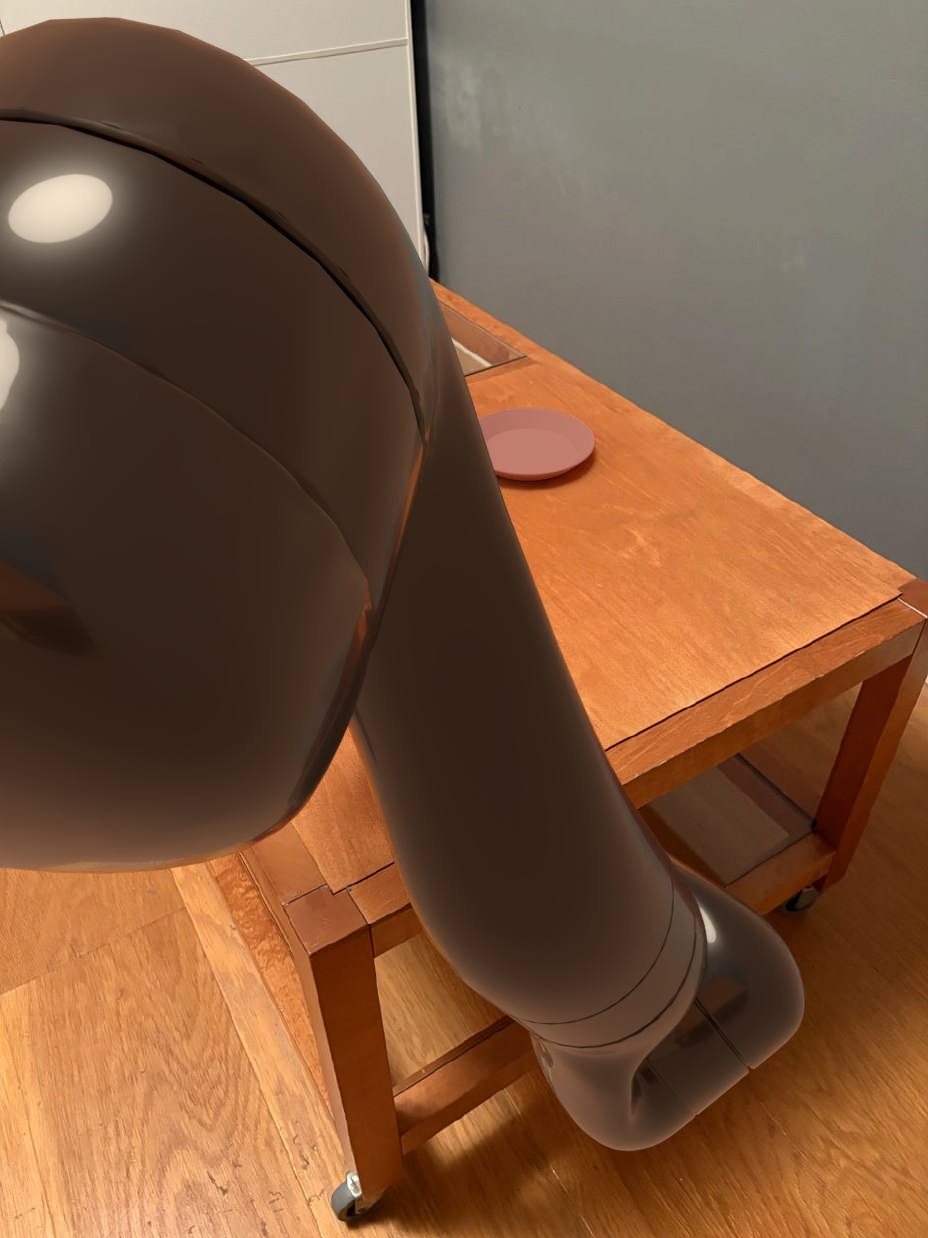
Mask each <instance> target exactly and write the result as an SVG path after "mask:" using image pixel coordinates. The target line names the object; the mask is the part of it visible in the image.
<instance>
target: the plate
mask: <svg viewBox="0 0 928 1238" xmlns="http://www.w3.org/2000/svg"><path fill="white" fill-rule="evenodd" d="M478 420H479V423H480V426H481V429H482V433H483V436H484V439H485V442H486V445H487V449H488V452H489V455H490V458H491V461H492V464H493V468H494V471H495V474H496V476H498V477H501V478H503V479H504V478H505V479H509V480H514V481H522V482H524V481H525V482H535V481H543V480H548V479H553V478H556V477H559V476H561V475H564V474H565V473H567V472H569V471H570V470H572V469H574V468H575V467H577V466H578V465H580V464H581V463H583V462H584V461H586V460H587V459H588V458H589V457H590V456H591V455H592V453H593V451H594V449H595V447H596V437H595V433H594V432H593V431H592V429H591V428H590V426H588V424H587V423H586V422H584V421H582V420H581V419H580V418H578V417H576V416H574V415H571V414H569V413H567V412H563V411H560V410H556V409H551V408H545V407H531V406H530V407H529V406H527V407H526V406H525V407H513V408H506V409H502V410H497V411H494V412H491V413H488V414H486V415H483V416H481V417H480V418H479V417H478Z"/></svg>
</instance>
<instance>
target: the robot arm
mask: <svg viewBox="0 0 928 1238" xmlns="http://www.w3.org/2000/svg"><path fill="white" fill-rule="evenodd" d="M391 202H392V201H391V200H390V199H389V197H388V196H387V194H386V193H385V191H384V189H383V187H382V186H381V184H380V183H379V182H378V180H377V179H376V178H375V176H374V175H373V174H372V173H371V171H370V170H369V169H368V167H367V166H366V165H365V163H364V162H363V161H362V160H361V158H360V157H359V156H358V154H357V153H356V152H355V151H354V149H352V147H351V146H349V144H347V142H345V140H344V139H342V138H341V137H340V136H339V135H338V133H336V131H334V130H333V128H332V127H330V125H328V123H327V122H325V121H324V119H322V118H321V116H319V114H317V113H316V112H315V111H314V110H313V108H311V106H309V104H307V102H306V101H305V100H303V99H302V98H300V97H299V96H297V95H296V94H294V93H293V92H291V91H290V90H288V89H287V88H286V87H284V86H283V85H281V84H280V83H279V82H276V81H275V80H274V79H273V78H272V77H269V76H268V75H267V74H265V73H264V72H262V71H261V70H260V69H258V68H256V66H254V65H253V64H251V63H249V62H248V61H246V60H245V59H244V58H242V57H240V56H238V55H237V54H234V53H232V52H230V51H227V50H225V49H222V48H220V47H218V46H215V45H214V44H211V43H209V42H207V41H205V40H203V39H200V38H198V37H196V36H194V35H191V34H189V33H186V32H184V31H181V30H179V29H175V28H171V27H166V26H160V25H157V24H152V23H146V22H142V21H137V20H132V19H128V18H122V17H113V16H110V17H109V16H103V17H101V16H100V17H99V16H98V17H79V18H76V17H75V18H57V19H56V18H55V19H53V18H51V19H48V20H44V21H41V22H38V23H36V24H33V25H30V26H27V27H23V28H21V29H18V30H15V31H13V32H9V33H6V34H4V35H2V36H0V869H8V870H19V871H31V872H43V873H51V874H52V873H53V874H54V873H55V874H90V875H93V874H97V875H110V874H127V873H143V872H157V871H164V870H170V869H176V868H182V867H187V866H193V865H200V864H205V863H208V862H211V861H215V860H219V859H222V858H226V857H229V856H232V855H235V854H239V853H242V852H244V851H246V850H248V849H250V848H252V847H254V846H255V845H257V844H259V843H261V842H262V841H264V840H266V839H268V838H270V837H272V836H273V835H275V834H276V833H279V832H280V831H281V830H282V829H284V828H285V827H286V826H287V825H288V824H289V823H291V822H292V821H293V820H294V819H295V818H297V816H299V814H300V813H301V811H303V810H304V808H305V807H306V806H307V804H308V803H309V802H310V801H311V799H312V797H313V796H314V794H315V792H316V791H317V789H318V788H319V785H320V784H321V782H322V780H323V778H324V777H325V775H326V773H327V772H328V770H329V768H330V767H331V765H332V763H333V761H334V758H335V756H336V754H337V753H338V750H339V749H340V746H341V744H342V742H343V739H344V737H345V735H346V732H347V730H348V731H349V733H350V736H351V739H352V742H353V744H354V748H355V750H356V752H357V756H358V758H359V760H360V761H359V762H360V763H361V766H362V769H363V772H364V775H365V778H366V781H367V785H368V788H369V791H370V794H371V797H372V800H373V803H374V807H375V809H376V812H377V815H378V818H379V821H380V824H381V827H382V830H383V833H384V835H385V839H386V842H387V844H388V848H389V851H390V854H391V858H392V861H393V864H394V867H395V869H396V872H397V875H398V879H399V880H400V883H401V885H402V886H401V887H402V888H403V890H404V893H405V895H406V897H407V899H408V901H409V903H410V906H411V907H412V909H413V912H414V914H415V916H416V918H417V920H418V922H419V924H420V926H421V928H422V929H423V932H424V933H425V935H426V936H427V938H428V940H429V941H430V943H431V944H432V946H433V947H434V948H435V950H436V951H437V952H438V954H439V955H440V956H441V958H442V959H443V960H444V962H445V963H446V964H447V965H448V967H449V968H450V969H451V971H452V972H453V973H454V974H455V975H456V976H457V977H458V978H459V979H460V980H461V981H462V982H463V983H464V984H465V985H467V986H468V987H469V988H470V989H471V990H473V991H474V992H475V993H476V994H477V995H479V996H480V997H481V998H482V999H484V1000H485V1001H486V1002H488V1004H490V1005H492V1006H494V1007H495V1008H496V1009H498V1010H499V1011H501V1012H502V1013H503V1014H505V1015H506V1016H508V1017H509V1018H510V1019H512V1020H513V1021H514V1022H516V1023H517V1024H519V1025H520V1026H521V1027H522V1028H524V1029H526V1030H527V1032H528V1036H529V1039H530V1042H531V1045H532V1049H533V1051H534V1055H535V1056H536V1060H537V1062H538V1063H539V1066H540V1069H541V1070H542V1073H543V1074H544V1077H545V1079H546V1081H547V1083H548V1085H549V1086H550V1087H549V1088H550V1089H551V1091H552V1092H553V1094H554V1096H555V1098H556V1099H557V1100H558V1103H559V1104H560V1106H561V1107H562V1108H563V1110H564V1111H565V1112H566V1113H567V1115H568V1116H569V1117H570V1118H571V1120H573V1122H574V1123H575V1124H576V1125H577V1126H578V1127H579V1128H580V1129H581V1130H582V1131H583V1132H584V1133H585V1134H586V1135H587V1136H589V1137H590V1138H592V1139H593V1140H594V1141H596V1142H598V1144H600V1145H603V1146H604V1147H607V1148H609V1149H612V1150H616V1151H623V1152H624V1151H625V1152H634V1151H640V1150H645V1149H648V1148H651V1147H655V1146H657V1145H658V1144H661V1143H663V1142H664V1141H666V1140H667V1139H669V1138H671V1137H672V1136H673V1135H675V1134H676V1133H677V1132H678V1131H679V1130H681V1129H682V1128H684V1127H685V1126H686V1125H687V1124H689V1123H690V1122H691V1121H692V1120H694V1119H695V1117H696V1115H697V1116H698V1115H700V1114H701V1113H703V1111H704V1110H705V1109H707V1108H708V1107H710V1105H712V1104H713V1103H714V1102H715V1101H716V1100H718V1099H719V1098H720V1097H722V1096H723V1095H724V1094H725V1093H726V1092H727V1091H729V1090H730V1089H731V1088H732V1087H733V1086H735V1085H736V1084H737V1083H738V1082H739V1081H741V1080H742V1079H743V1078H744V1077H746V1076H747V1075H748V1074H749V1073H750V1069H752V1070H755V1069H756V1068H758V1067H759V1066H760V1065H761V1064H763V1063H764V1062H765V1061H766V1060H767V1059H769V1058H770V1057H771V1056H773V1055H774V1054H775V1053H776V1052H777V1051H778V1050H780V1049H781V1048H783V1046H784V1045H785V1044H787V1043H788V1042H789V1041H790V1039H791V1038H792V1037H793V1036H794V1035H795V1034H796V1033H797V1032H798V1030H799V1028H800V1027H801V1025H802V1022H803V1019H804V1015H805V1007H806V998H805V996H806V995H805V986H804V982H803V977H802V973H801V971H800V968H799V965H798V963H797V961H796V958H795V957H794V955H793V952H792V950H791V948H790V947H789V946H788V944H787V942H786V941H785V940H784V939H783V936H781V934H780V933H779V932H778V931H777V930H776V929H775V928H774V927H773V925H772V924H770V922H769V921H767V920H766V919H765V917H763V916H762V915H761V914H760V913H759V912H757V910H755V909H754V908H753V907H752V906H750V905H748V904H747V903H746V902H744V901H743V900H742V899H740V897H738V896H736V895H735V894H733V893H732V892H731V891H729V890H727V889H726V888H724V887H723V886H722V885H720V884H718V883H716V882H715V881H714V880H713V879H710V878H709V877H707V876H706V875H704V874H703V873H701V872H699V871H698V870H696V869H695V868H692V867H691V866H690V865H688V864H686V863H684V862H683V861H682V860H680V859H678V858H677V857H675V856H674V855H673V854H671V853H669V852H668V851H666V850H665V849H664V847H663V845H662V844H661V843H660V841H659V840H658V838H657V837H656V835H655V834H654V833H653V831H652V830H651V828H650V827H649V825H648V824H647V822H646V821H645V819H644V817H642V815H641V813H640V812H639V810H638V808H637V806H635V805H636V804H634V802H633V800H632V799H631V796H630V795H629V794H628V792H627V791H626V789H625V787H624V786H623V784H622V782H621V780H620V779H619V777H618V775H617V773H616V771H615V769H614V767H613V765H612V763H611V761H610V759H609V756H608V755H607V753H606V750H605V747H604V746H603V744H602V742H601V740H600V738H599V735H598V733H597V731H596V729H595V727H594V725H593V723H592V720H591V718H590V715H589V714H588V711H587V710H586V707H585V705H584V702H583V700H582V698H581V695H580V693H579V691H578V688H577V685H576V683H575V681H574V678H573V676H572V673H571V670H570V669H569V666H568V664H567V661H566V659H565V657H564V655H563V652H562V649H561V646H560V644H559V642H558V640H557V637H556V634H555V632H554V629H553V627H552V623H551V621H550V618H549V616H548V612H547V610H546V608H545V604H544V602H543V600H542V598H541V595H540V592H539V590H538V589H539V588H538V586H537V584H536V582H535V579H534V576H533V573H532V571H531V568H530V565H529V563H528V560H527V557H526V554H525V553H524V550H523V546H522V544H521V541H520V540H519V537H518V534H517V531H516V529H515V526H514V524H513V523H514V522H513V520H512V518H511V515H510V513H509V510H508V507H507V505H506V502H505V498H504V495H503V493H502V489H501V486H500V483H499V480H498V478H497V475H496V474H495V471H494V468H493V464H492V461H491V458H490V455H489V452H488V449H487V445H486V442H485V439H484V436H483V433H482V429H481V426H480V423H479V420H478V419H479V417H478V414H477V411H476V407H475V404H474V401H473V397H472V394H471V392H470V391H471V390H470V389H469V386H468V382H467V379H466V376H465V373H464V370H463V368H462V363H461V361H460V358H459V356H458V353H457V350H456V346H455V344H454V340H453V338H452V335H451V333H450V330H449V327H448V324H447V321H446V318H445V315H444V313H443V311H442V309H441V305H440V303H439V300H438V298H437V295H436V292H435V289H434V287H433V285H432V282H431V280H430V278H429V276H428V273H427V270H426V268H425V266H424V264H423V261H422V259H421V257H420V254H419V253H418V251H417V248H416V246H415V244H414V242H413V240H412V237H411V236H410V234H409V232H408V230H407V228H406V226H405V225H404V223H403V221H402V218H401V217H400V216H399V213H398V212H397V210H396V209H395V207H394V205H393V204H392V203H391Z"/></svg>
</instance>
